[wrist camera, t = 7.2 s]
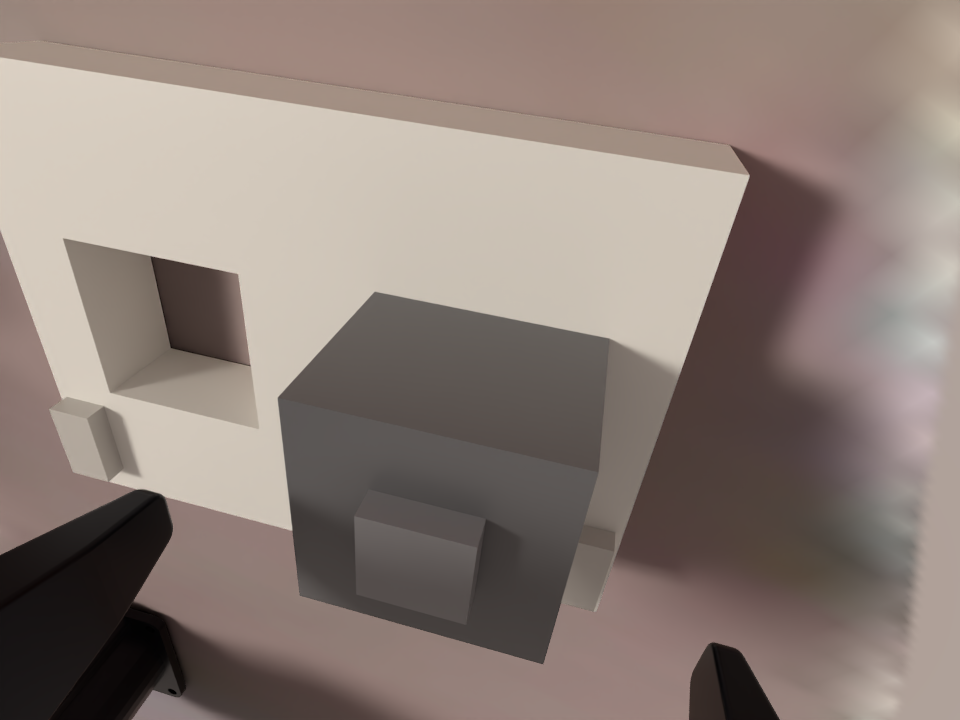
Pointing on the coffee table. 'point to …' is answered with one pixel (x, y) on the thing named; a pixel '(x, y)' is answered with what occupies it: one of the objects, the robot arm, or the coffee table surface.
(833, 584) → the coffee table surface
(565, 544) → the plug
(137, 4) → the coffee table surface
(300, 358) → the socket
